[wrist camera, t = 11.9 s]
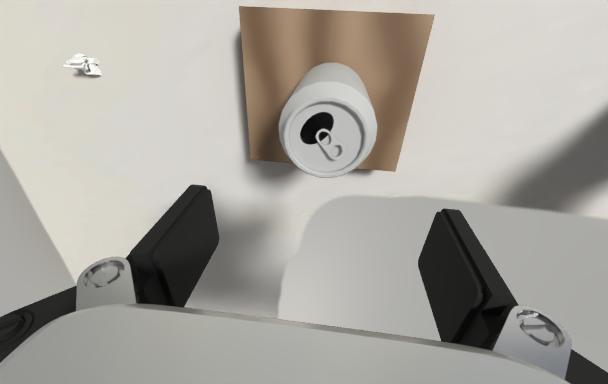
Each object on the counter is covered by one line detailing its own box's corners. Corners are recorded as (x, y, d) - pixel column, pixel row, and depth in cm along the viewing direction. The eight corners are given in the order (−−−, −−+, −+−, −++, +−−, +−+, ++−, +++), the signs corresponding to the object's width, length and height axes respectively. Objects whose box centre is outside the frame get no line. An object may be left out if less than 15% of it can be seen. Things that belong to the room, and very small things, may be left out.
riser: (420, 15, 29) (434, 14, 24) (389, 154, 37) (395, 171, 33) (253, 7, 30) (238, 6, 26) (260, 143, 38) (250, 159, 34)
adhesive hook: (99, 53, 35) (79, 56, 32) (106, 75, 36) (88, 79, 33) (77, 52, 35) (55, 55, 32) (85, 74, 36) (65, 79, 34)
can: (331, 43, 26) (326, 59, 16) (380, 98, 29) (403, 142, 19) (282, 99, 30) (253, 140, 20) (329, 145, 32) (325, 203, 22)
